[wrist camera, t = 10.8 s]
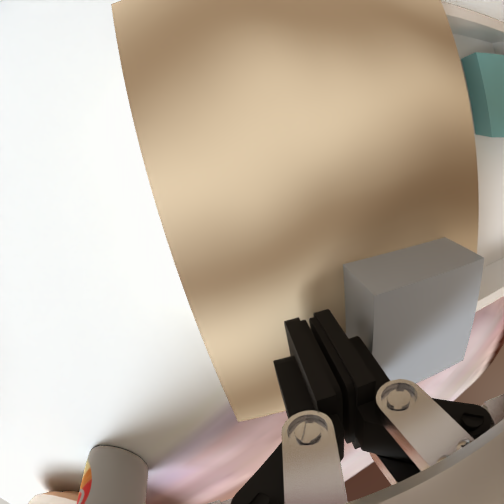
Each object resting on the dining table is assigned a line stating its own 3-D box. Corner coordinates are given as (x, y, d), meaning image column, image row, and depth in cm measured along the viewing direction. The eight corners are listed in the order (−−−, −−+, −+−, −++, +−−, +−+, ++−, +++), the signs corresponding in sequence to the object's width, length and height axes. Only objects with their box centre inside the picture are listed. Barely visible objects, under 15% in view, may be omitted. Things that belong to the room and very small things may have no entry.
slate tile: (342, 264, 11) (374, 295, 8) (445, 237, 11) (484, 258, 9) (345, 365, 13) (367, 402, 10) (434, 332, 13) (463, 360, 10)
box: (389, 16, 12) (424, -3, 9) (489, 36, 12) (522, 30, 9) (425, 296, 18) (455, 322, 15) (508, 258, 19) (536, 274, 15)
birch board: (141, 44, 11) (111, 4, 7) (382, 15, 12) (434, -14, 7) (230, 359, 18) (238, 422, 13) (420, 299, 18) (464, 338, 13)
